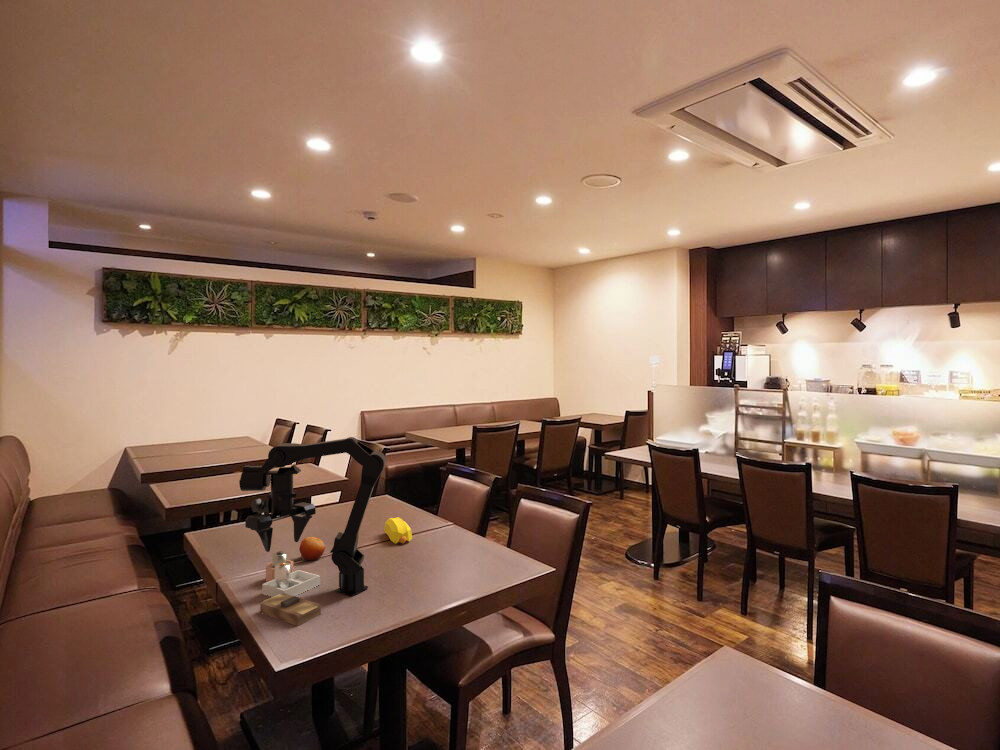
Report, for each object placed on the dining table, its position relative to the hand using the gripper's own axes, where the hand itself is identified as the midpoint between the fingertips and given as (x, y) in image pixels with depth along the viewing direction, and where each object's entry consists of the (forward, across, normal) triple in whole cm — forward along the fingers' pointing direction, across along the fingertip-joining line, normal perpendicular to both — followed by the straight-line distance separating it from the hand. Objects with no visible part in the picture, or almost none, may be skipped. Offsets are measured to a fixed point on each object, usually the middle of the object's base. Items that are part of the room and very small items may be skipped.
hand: (282, 546), depth 146 cm
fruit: (+13, -23, -15) cm, 31 cm away
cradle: (+13, +7, +12) cm, 19 cm away
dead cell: (+12, -6, -9) cm, 16 cm away
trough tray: (+13, -3, 0) cm, 13 cm away
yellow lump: (+13, -53, -5) cm, 55 cm away
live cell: (+12, 0, 0) cm, 12 cm away
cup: (+13, -6, -9) cm, 17 cm away
